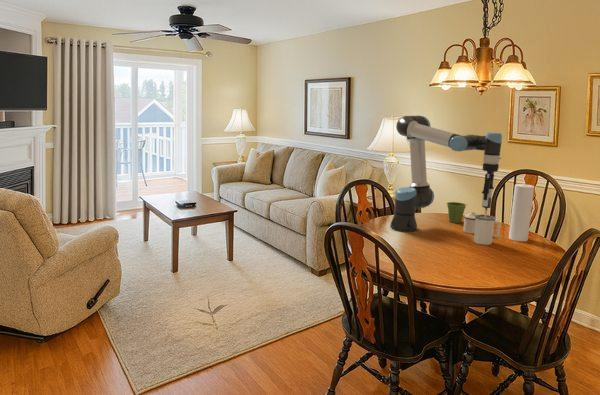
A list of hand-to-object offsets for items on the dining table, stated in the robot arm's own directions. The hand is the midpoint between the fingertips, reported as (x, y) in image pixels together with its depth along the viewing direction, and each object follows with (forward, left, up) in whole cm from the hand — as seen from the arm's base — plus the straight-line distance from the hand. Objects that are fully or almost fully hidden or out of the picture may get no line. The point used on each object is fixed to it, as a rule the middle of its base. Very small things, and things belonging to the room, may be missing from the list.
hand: (486, 203), depth 242 cm
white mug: (+2, 0, -21) cm, 21 cm away
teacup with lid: (-9, +19, -21) cm, 30 cm away
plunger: (0, 0, -17) cm, 17 cm away
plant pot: (-21, +37, -21) cm, 47 cm away
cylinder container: (+16, +17, -21) cm, 31 cm away
